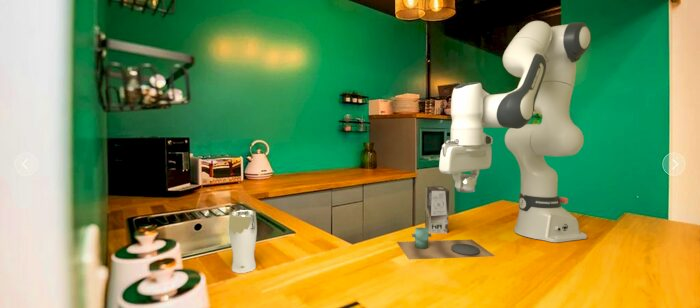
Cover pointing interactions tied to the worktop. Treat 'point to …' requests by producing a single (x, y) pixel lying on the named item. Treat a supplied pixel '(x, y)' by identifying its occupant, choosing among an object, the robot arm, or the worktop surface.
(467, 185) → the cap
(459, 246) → the pad
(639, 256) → the worktop surface
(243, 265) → the beer glass
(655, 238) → the worktop surface
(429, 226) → the coffee box
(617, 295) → the worktop surface
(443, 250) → the base board
